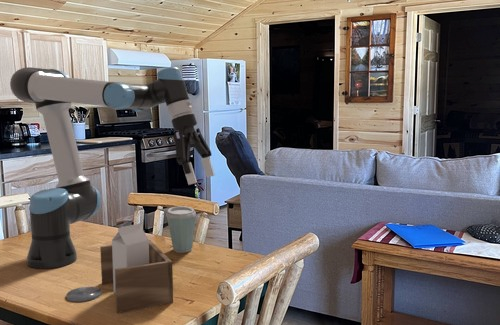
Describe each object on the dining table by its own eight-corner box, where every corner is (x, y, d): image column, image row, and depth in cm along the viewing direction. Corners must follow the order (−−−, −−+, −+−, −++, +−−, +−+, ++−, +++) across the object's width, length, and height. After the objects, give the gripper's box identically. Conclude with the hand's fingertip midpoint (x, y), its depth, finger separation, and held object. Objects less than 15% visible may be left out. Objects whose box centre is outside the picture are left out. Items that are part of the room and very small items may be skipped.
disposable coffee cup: (202, 251, 167) (201, 209, 165) (173, 257, 161) (172, 213, 159) (189, 244, 176) (188, 204, 174) (161, 248, 170) (160, 207, 168)
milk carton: (150, 292, 131) (148, 225, 128) (128, 300, 126) (125, 230, 123) (135, 285, 136) (133, 221, 133) (113, 293, 130) (111, 225, 128)
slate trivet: (64, 292, 131) (64, 290, 131) (98, 286, 135) (98, 284, 135) (68, 304, 123) (68, 302, 123) (104, 298, 127) (104, 295, 127)
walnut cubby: (101, 282, 138) (100, 246, 136) (150, 274, 144) (149, 239, 143) (117, 313, 118) (115, 270, 116) (173, 302, 124) (172, 261, 123)
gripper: (173, 113, 137) (195, 183, 138) (208, 111, 161) (227, 171, 161) (152, 121, 140) (173, 190, 140) (189, 117, 163) (208, 176, 164)
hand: (202, 180), depth 151 cm, fingers open, 13 cm apart
